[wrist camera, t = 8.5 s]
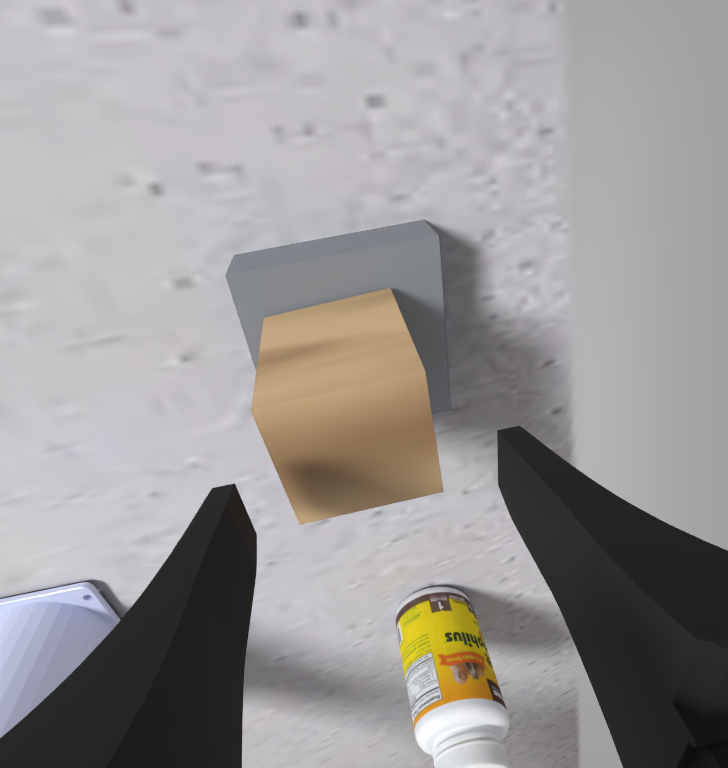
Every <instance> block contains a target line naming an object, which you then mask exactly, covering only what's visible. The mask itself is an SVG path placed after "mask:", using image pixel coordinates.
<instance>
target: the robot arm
mask: <svg viewBox="0 0 728 768" xmlns="http://www.w3.org/2000/svg"><path fill="white" fill-rule="evenodd" d="M497 433H498V485H499V488H500V491H501V493H502V496H503V498H504V501H505V504H506V506H507V509H508V511H509V513H510V516H511V518H512V520H513V522H514V524H515V526H516V528H517V530H518V531H519V533H520V535H521V537H522V539H523V541H524V543H525V544H526V546H527V548H528V550H529V552H530V554H531V555H532V557H533V559H534V561H535V563H536V564H537V566H538V568H539V570H540V572H541V574H542V575H543V577H544V579H545V581H546V583H547V585H548V586H549V588H550V590H551V592H552V594H553V596H554V598H555V600H556V602H557V604H558V606H559V608H560V610H561V613H562V615H563V617H564V620H565V622H566V624H567V627H568V629H569V631H570V634H571V636H572V638H573V641H574V643H575V645H576V648H577V650H578V653H579V655H580V657H581V660H582V662H583V665H584V667H585V670H586V672H587V674H588V677H589V679H590V682H591V684H592V687H593V689H594V692H595V694H596V697H597V699H598V702H599V705H600V707H601V710H602V712H603V715H604V718H605V720H606V723H607V725H608V728H609V730H610V733H611V736H612V738H613V741H614V744H615V747H616V749H617V752H618V755H619V757H620V760H621V763H622V765H623V768H728V551H727V550H724V549H722V548H720V547H717V546H715V545H713V544H710V543H708V542H706V541H703V540H701V539H699V538H697V537H695V536H693V535H690V534H688V533H686V532H684V531H682V530H680V529H678V528H675V527H673V526H671V525H669V524H667V523H665V522H663V521H661V520H659V519H657V518H656V517H654V516H652V515H650V514H648V513H646V512H645V511H643V510H641V509H639V508H637V507H635V506H634V505H632V504H630V503H628V502H626V501H625V500H623V499H621V498H620V497H618V496H616V495H615V494H613V493H612V492H610V491H609V490H607V489H605V488H604V487H602V486H601V485H599V484H598V483H596V482H595V481H593V480H592V479H590V478H589V477H587V476H586V475H584V474H583V473H582V472H580V471H579V470H577V469H576V468H575V467H573V466H572V465H570V464H569V463H568V462H566V461H565V460H564V459H562V458H561V457H560V456H558V455H557V454H556V453H554V452H553V451H552V450H550V449H549V448H548V447H546V446H545V445H544V444H543V443H541V442H540V441H539V440H537V439H536V438H535V437H534V436H532V435H531V434H530V433H529V432H527V431H526V430H525V429H523V428H522V427H520V426H517V427H512V428H507V429H502V430H497ZM256 565H257V534H256V532H255V530H254V527H253V525H252V523H251V520H250V518H249V516H248V513H247V511H246V509H245V506H244V504H243V502H242V499H241V497H240V495H239V492H238V490H237V488H236V485H235V484H230V485H225V486H221V487H216V488H212V490H211V491H210V493H209V494H208V496H207V497H206V499H205V500H204V502H203V504H202V505H201V507H200V509H199V510H198V512H197V513H196V515H195V517H194V518H193V520H192V521H191V523H190V525H189V526H188V528H187V529H186V531H185V533H184V534H183V536H182V537H181V539H180V540H179V542H178V543H177V545H176V546H175V548H174V549H173V551H172V553H171V554H170V556H169V557H168V558H167V560H166V561H165V563H164V564H163V566H162V567H161V568H160V570H159V571H158V573H157V574H156V575H155V577H154V578H153V580H152V581H151V582H150V584H149V585H148V587H147V588H146V589H145V591H144V592H143V593H142V594H141V596H140V597H139V598H138V600H137V601H136V602H135V603H134V605H133V606H132V607H131V608H130V610H129V611H128V612H127V613H126V614H125V616H124V617H123V618H122V619H121V620H120V618H119V617H118V616H117V615H116V613H115V612H114V611H113V609H112V608H111V607H110V606H109V604H108V603H107V602H106V600H105V599H104V598H103V596H102V595H101V594H100V593H99V591H98V590H97V589H96V587H95V586H94V585H93V584H91V583H89V582H82V583H77V584H72V585H67V586H62V587H57V588H52V589H48V590H43V591H38V592H33V593H28V594H23V595H18V596H13V597H8V598H3V599H0V768H242V712H243V683H244V666H245V655H246V647H247V640H248V632H249V625H250V617H251V610H252V602H253V594H254V586H255V578H256Z"/></svg>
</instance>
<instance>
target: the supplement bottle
mask: <svg viewBox="0 0 728 768" xmlns="http://www.w3.org/2000/svg"><path fill="white" fill-rule="evenodd" d="M396 627H397V633H398V639H399V645H400V651H401V657H402V663H403V669H404V675H405V680H406V686H407V691H408V697H409V703H410V709H411V714H412V720H413V726H414V732H415V736H416V740H417V743H418V744H419V746H420V747H421V748H422V749H423V750H424V751H425V752H426V753H428V754H430V755H432V756H433V759H434V766H435V768H510V765H509V762H508V759H507V755H506V749H505V747H504V745H503V741H502V740H503V738H504V737H505V736H506V734H507V732H508V729H509V724H510V723H509V716H508V713H507V709H506V706H505V703H504V700H503V697H502V695H501V691H500V688H499V685H498V682H497V679H496V676H495V673H494V670H493V667H492V664H491V661H490V658H489V655H488V652H487V648H486V646H485V643H484V639H483V637H482V633H481V630H480V627H479V624H478V621H477V618H476V615H475V612H474V609H473V607H472V604H471V602H470V600H469V598H468V597H467V596H466V595H465V594H464V593H462V592H461V591H459V590H457V589H454V588H450V587H430V588H425V589H422V590H420V591H417V592H415V593H413V594H411V595H410V596H409V597H407V598H406V599H405V600H404V601H403V602H402V603H401V604H400V606H399V608H398V610H397V613H396Z"/></svg>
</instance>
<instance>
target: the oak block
mask: <svg viewBox="0 0 728 768" xmlns="http://www.w3.org/2000/svg"><path fill="white" fill-rule="evenodd" d="M251 413H252V415H253V417H254V420H255V422H256V424H257V427H258V429H259V431H260V433H261V436H262V438H263V440H264V443H265V445H266V447H267V450H268V452H269V454H270V457H271V459H272V461H273V464H274V466H275V468H276V471H277V473H278V475H279V478H280V480H281V482H282V484H283V487H284V489H285V491H286V494H287V496H288V498H289V501H290V503H291V505H292V508H293V510H294V512H295V515H296V517H297V519H298V522H299V524H300V525H301V524H305V523H309V522H314V521H318V520H322V519H327V518H331V517H336V516H340V515H344V514H349V513H353V512H357V511H362V510H366V509H370V508H375V507H379V506H383V505H388V504H392V503H397V502H401V501H405V500H410V499H414V498H418V497H423V496H427V495H431V494H436V493H440V492H444V491H443V485H442V478H441V472H440V465H439V458H438V452H437V445H436V439H435V432H434V426H433V419H432V412H431V406H430V399H429V393H428V386H427V379H426V373H425V369H424V367H423V364H422V362H421V360H420V357H419V355H418V352H417V350H416V348H415V345H414V343H413V341H412V338H411V336H410V333H409V331H408V329H407V326H406V324H405V321H404V319H403V317H402V314H401V312H400V310H399V307H398V305H397V302H396V300H395V298H394V295H393V293H392V290H391V288H387V289H383V290H379V291H375V292H371V293H366V294H362V295H358V296H354V297H349V298H345V299H341V300H337V301H333V302H328V303H324V304H320V305H316V306H311V307H307V308H303V309H299V310H295V311H290V312H286V313H282V314H278V315H274V316H269V317H265V318H264V319H263V327H262V334H261V342H260V349H259V356H258V364H257V371H256V379H255V386H254V393H253V401H252V408H251Z"/></svg>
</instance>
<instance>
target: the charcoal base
mask: <svg viewBox="0 0 728 768" xmlns="http://www.w3.org/2000/svg"><path fill="white" fill-rule="evenodd" d="M226 278H227V282H228V285H229V288H230V291H231V294H232V297H233V300H234V303H235V306H236V310H237V313H238V316H239V319H240V322H241V325H242V328H243V331H244V334H245V337H246V341H247V344H248V347H249V350H250V353H251V356H252V359H253V362H254V365H255V369H256V371H257V364H258V356H259V349H260V342H261V334H262V327H263V319H264V318H265V317H269V316H274V315H278V314H282V313H286V312H290V311H295V310H299V309H303V308H307V307H311V306H316V305H320V304H324V303H328V302H333V301H337V300H341V299H345V298H349V297H354V296H358V295H362V294H366V293H371V292H375V291H379V290H383V289H387V288H391V290H392V293H393V295H394V298H395V300H396V302H397V305H398V307H399V310H400V312H401V314H402V317H403V319H404V321H405V324H406V326H407V329H408V331H409V333H410V336H411V338H412V341H413V343H414V345H415V348H416V350H417V352H418V355H419V357H420V360H421V362H422V364H423V367H424V369H425V373H426V379H427V386H428V393H429V399H430V406H431V412H432V413H437V412H442V411H447V410H451V405H450V390H449V375H448V360H447V346H446V331H445V316H444V301H443V286H442V271H441V256H440V242H439V235H438V234H437V233H436V232H435V231H434V230H433V229H432V228H431V227H430V225H429V224H428V223H427V222H426V221H425V220H420V221H415V222H409V223H404V224H398V225H393V226H388V227H382V228H377V229H372V230H366V231H361V232H356V233H350V234H345V235H339V236H334V237H329V238H323V239H318V240H313V241H307V242H302V243H296V244H291V245H286V246H280V247H275V248H270V249H264V250H259V251H254V252H248V253H243V254H237V255H234V257H233V259H232V261H231V264H230V266H229V268H228V271H227V273H226Z"/></svg>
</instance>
